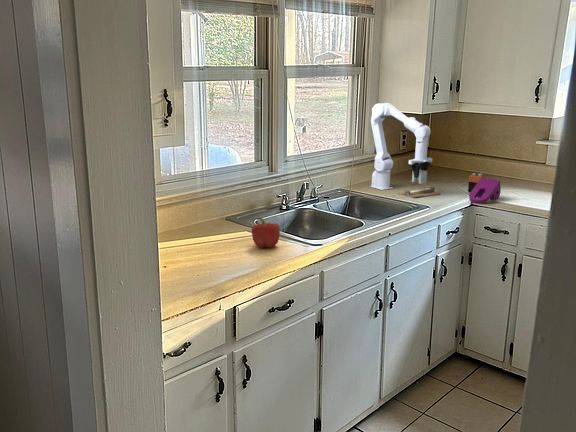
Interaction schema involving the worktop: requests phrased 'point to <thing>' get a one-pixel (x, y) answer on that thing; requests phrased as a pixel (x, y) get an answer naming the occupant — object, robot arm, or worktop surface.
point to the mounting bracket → (485, 191)
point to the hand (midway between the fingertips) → (419, 177)
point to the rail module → (420, 177)
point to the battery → (474, 180)
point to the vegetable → (265, 234)
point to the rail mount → (420, 192)
